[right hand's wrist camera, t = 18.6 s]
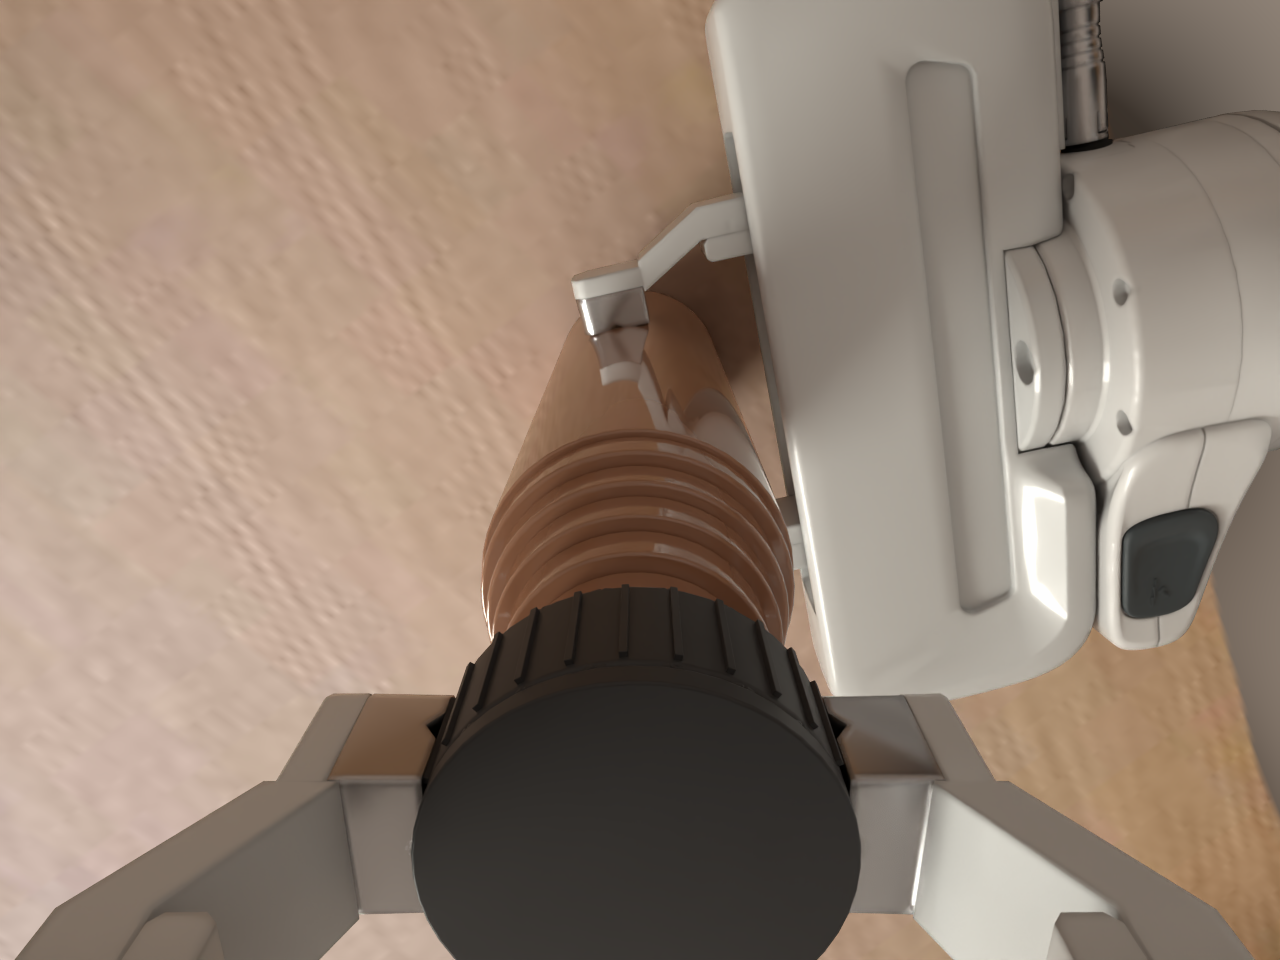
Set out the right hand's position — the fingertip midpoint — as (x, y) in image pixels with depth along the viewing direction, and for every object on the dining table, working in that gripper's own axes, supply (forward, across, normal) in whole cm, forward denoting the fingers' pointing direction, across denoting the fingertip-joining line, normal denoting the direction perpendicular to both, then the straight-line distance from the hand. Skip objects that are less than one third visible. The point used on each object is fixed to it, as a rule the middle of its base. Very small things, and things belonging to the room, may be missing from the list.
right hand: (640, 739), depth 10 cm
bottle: (+20, 0, 0) cm, 20 cm away
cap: (-2, 0, 0) cm, 2 cm away
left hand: (+14, -1, 0) cm, 14 cm away
